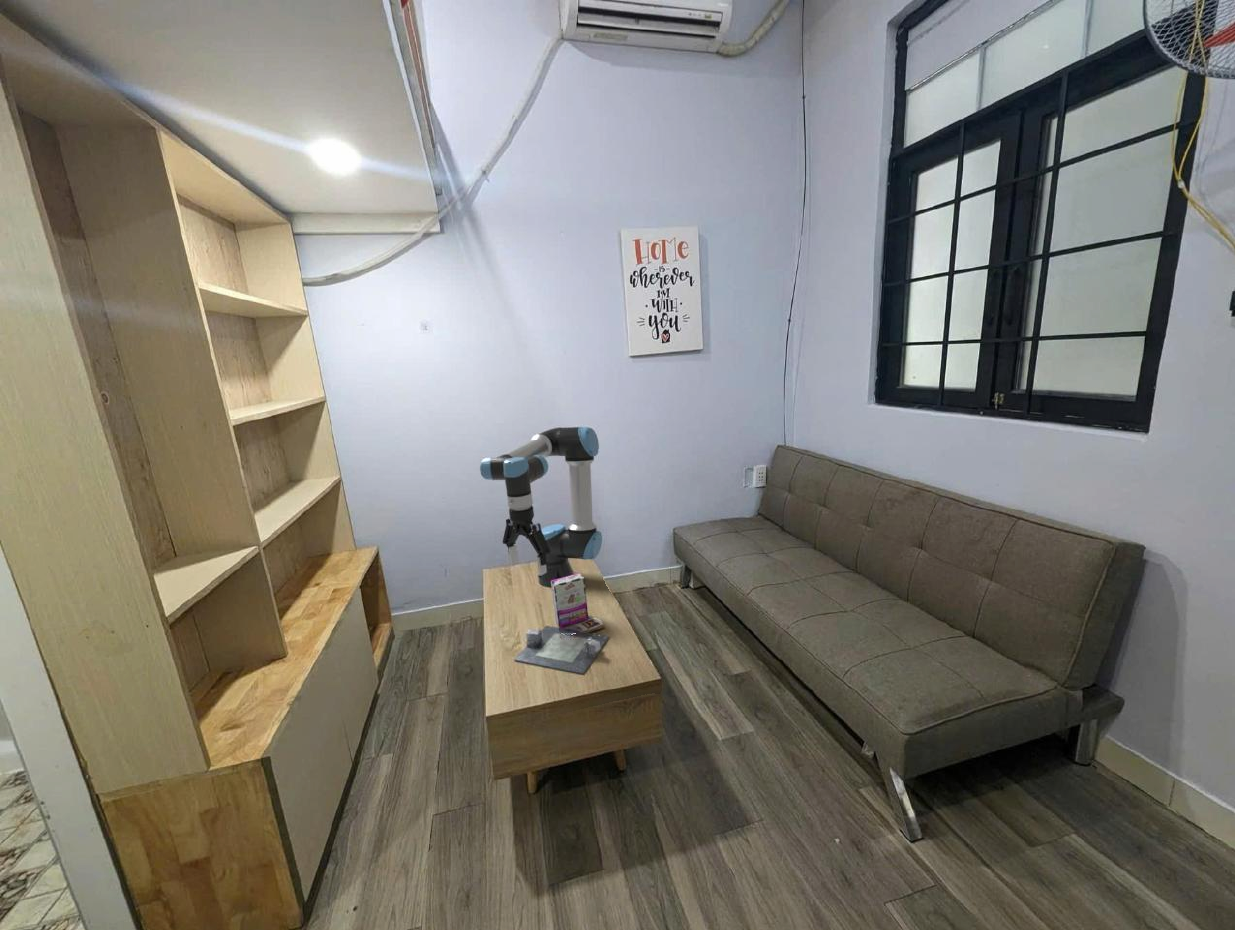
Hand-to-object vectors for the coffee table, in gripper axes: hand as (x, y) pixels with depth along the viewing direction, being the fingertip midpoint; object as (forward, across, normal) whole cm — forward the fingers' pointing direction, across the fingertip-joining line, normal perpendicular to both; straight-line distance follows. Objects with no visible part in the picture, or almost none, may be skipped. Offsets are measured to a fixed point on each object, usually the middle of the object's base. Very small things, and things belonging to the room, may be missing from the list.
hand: (528, 569), depth 156 cm
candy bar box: (+26, +2, +15) cm, 30 cm away
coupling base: (+26, +11, +1) cm, 28 cm away
